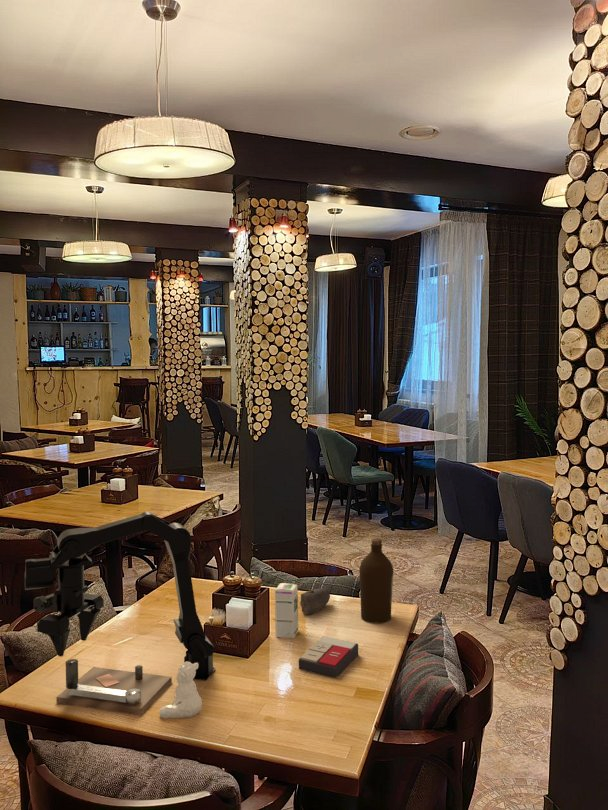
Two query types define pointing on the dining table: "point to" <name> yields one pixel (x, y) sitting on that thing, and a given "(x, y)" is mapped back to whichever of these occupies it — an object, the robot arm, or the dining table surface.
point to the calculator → (329, 656)
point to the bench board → (120, 681)
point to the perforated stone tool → (314, 600)
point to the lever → (97, 688)
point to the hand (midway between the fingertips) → (72, 648)
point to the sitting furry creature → (184, 695)
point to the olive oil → (376, 585)
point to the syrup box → (286, 610)
